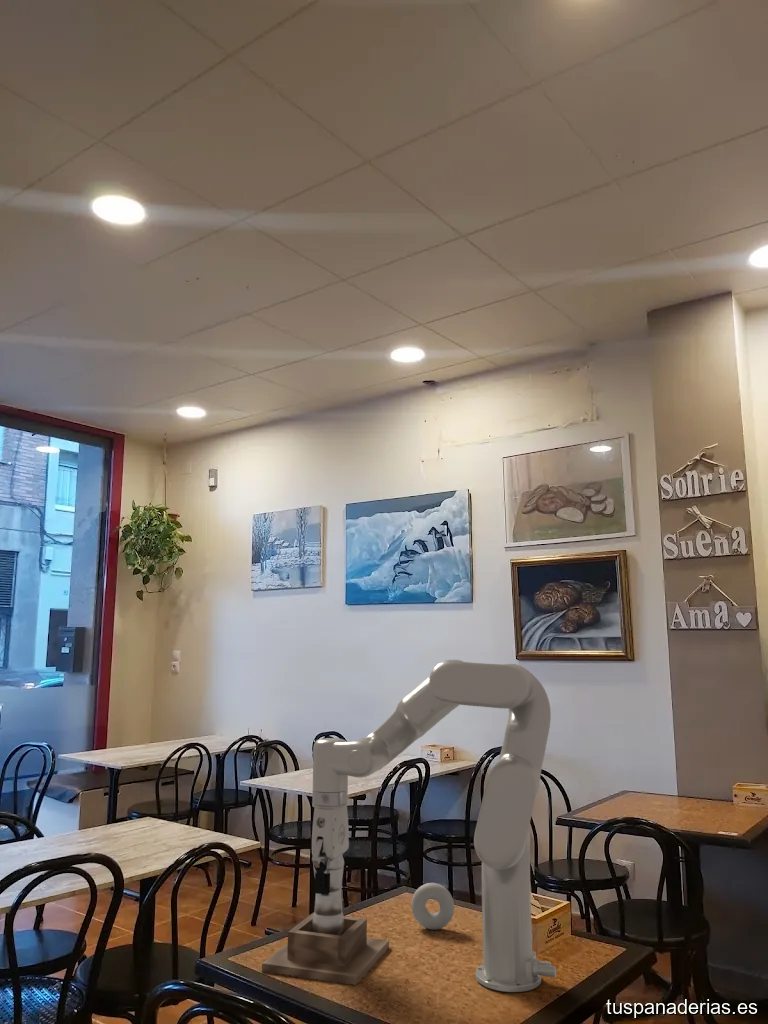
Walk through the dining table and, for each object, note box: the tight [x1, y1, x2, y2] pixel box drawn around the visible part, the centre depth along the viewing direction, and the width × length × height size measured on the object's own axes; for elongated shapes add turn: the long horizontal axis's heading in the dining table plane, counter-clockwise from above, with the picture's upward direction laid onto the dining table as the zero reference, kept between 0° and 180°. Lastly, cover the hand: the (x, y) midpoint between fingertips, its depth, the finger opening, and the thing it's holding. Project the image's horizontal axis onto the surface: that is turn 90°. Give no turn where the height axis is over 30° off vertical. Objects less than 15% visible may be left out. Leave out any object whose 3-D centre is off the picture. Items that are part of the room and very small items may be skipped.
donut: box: [410, 882, 455, 931], centre depth 177 cm, size 10×4×10 cm, turn 80°
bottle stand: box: [261, 912, 390, 986], centre depth 160 cm, size 20×20×6 cm
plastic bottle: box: [312, 854, 345, 936], centre depth 162 cm, size 6×7×20 cm
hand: (328, 888), depth 161 cm, fingers closed on plastic bottle, 6 cm apart
